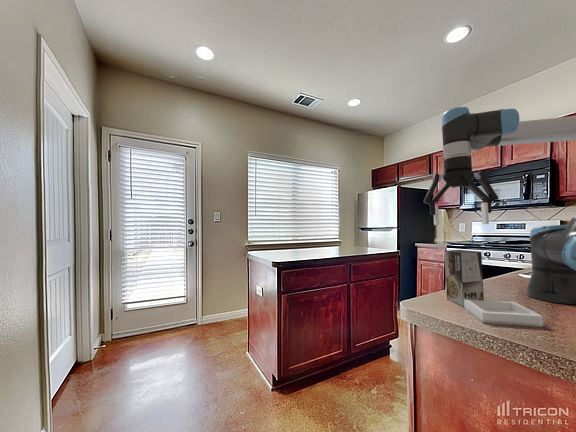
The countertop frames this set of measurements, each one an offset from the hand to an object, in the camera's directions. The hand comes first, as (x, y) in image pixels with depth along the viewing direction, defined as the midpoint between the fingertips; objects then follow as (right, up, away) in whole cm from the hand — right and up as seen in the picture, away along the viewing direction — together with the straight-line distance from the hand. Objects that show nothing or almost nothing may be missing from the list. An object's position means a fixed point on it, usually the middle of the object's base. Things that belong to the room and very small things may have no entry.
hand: (460, 224), depth 84 cm
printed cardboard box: (+1, -25, -1) cm, 25 cm away
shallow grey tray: (+1, -24, -14) cm, 28 cm away
